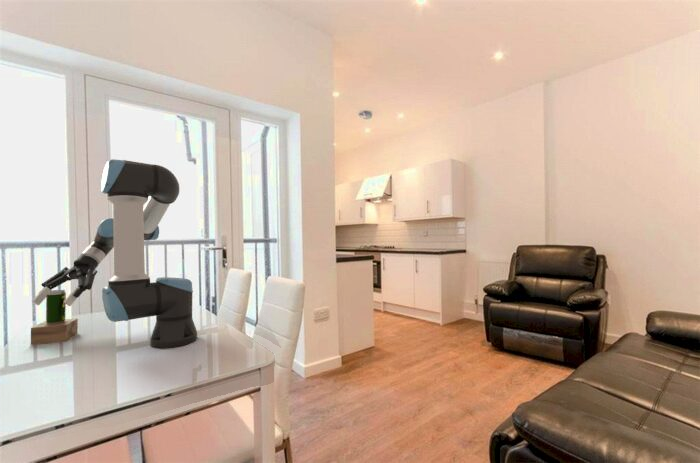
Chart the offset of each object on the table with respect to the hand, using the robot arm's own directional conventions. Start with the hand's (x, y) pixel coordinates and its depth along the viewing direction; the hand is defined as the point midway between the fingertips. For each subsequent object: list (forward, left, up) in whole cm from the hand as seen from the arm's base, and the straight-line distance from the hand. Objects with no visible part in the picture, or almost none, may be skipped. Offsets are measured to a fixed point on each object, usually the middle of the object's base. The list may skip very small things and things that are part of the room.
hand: (50, 303), depth 119 cm
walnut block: (+1, -1, -14) cm, 14 cm away
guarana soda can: (+1, -1, -8) cm, 8 cm away
